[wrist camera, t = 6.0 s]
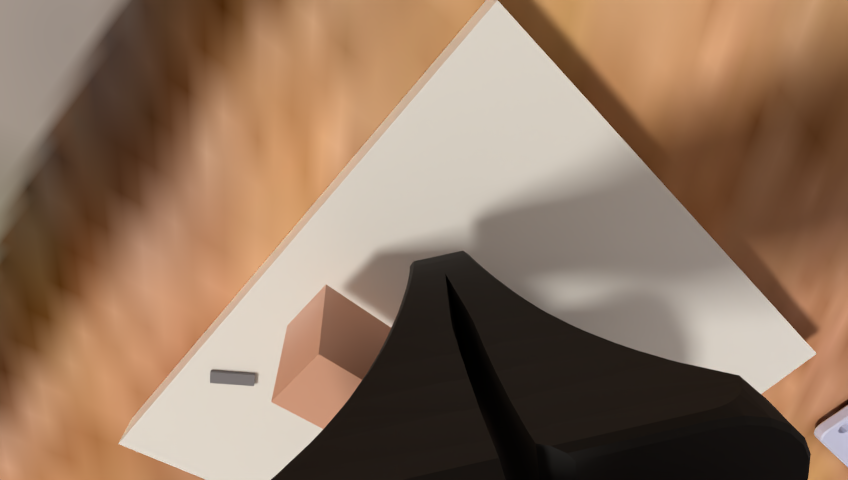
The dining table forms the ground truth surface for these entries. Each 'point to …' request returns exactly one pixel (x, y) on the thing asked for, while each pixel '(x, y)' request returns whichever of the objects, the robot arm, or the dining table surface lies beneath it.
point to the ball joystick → (326, 356)
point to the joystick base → (472, 250)
